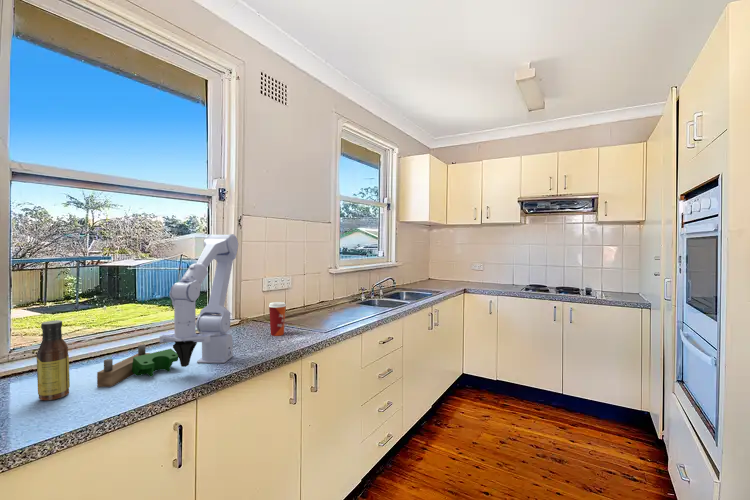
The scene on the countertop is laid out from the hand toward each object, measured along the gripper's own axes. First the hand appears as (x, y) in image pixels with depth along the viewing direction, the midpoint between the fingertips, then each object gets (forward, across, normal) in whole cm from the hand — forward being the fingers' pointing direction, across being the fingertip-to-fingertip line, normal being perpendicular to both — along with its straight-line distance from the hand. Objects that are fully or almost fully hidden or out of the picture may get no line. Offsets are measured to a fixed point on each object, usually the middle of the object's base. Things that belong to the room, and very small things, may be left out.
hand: (185, 365), depth 111 cm
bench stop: (+3, -18, 0) cm, 18 cm away
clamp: (+3, -10, +2) cm, 11 cm away
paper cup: (+3, +15, +50) cm, 52 cm away
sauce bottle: (+3, -26, -16) cm, 31 cm away
